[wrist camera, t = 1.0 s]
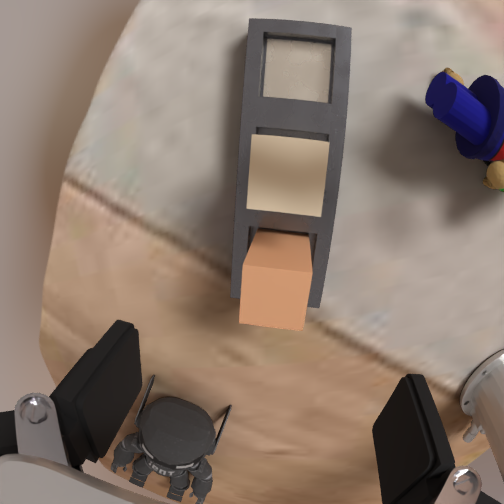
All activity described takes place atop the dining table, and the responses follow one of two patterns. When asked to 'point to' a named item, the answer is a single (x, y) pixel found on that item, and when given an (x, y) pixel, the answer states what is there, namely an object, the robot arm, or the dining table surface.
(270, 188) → the beech block
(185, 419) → the robot
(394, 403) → the robot arm
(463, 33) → the dining table surface
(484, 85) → the toy
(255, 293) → the terracotta block
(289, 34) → the rail
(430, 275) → the dining table surface
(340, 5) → the dining table surface
